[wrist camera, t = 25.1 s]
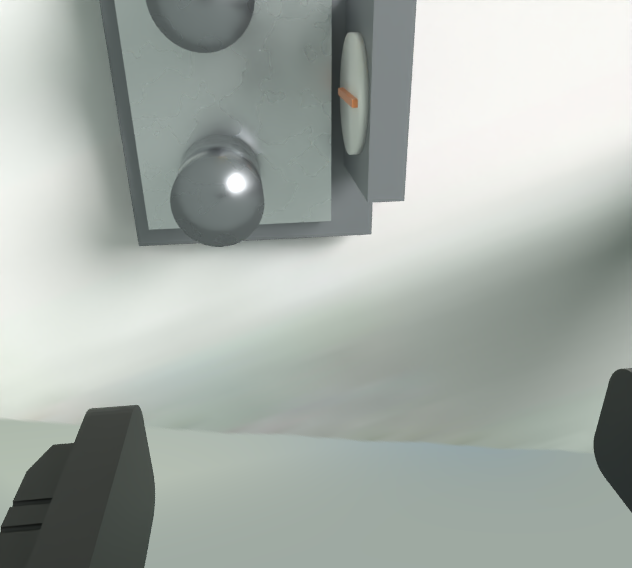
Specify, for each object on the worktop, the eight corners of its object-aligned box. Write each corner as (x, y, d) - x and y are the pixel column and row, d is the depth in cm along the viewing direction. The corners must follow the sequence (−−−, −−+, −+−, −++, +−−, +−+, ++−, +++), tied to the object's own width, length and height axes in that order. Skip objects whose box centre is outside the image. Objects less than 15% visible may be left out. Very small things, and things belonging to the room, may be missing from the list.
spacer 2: (257, 132, 35) (261, 154, 29) (262, 209, 37) (267, 243, 32) (175, 136, 34) (163, 159, 29) (185, 214, 36) (176, 249, 31)
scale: (372, -98, 33) (425, -142, 24) (363, 220, 42) (398, 284, 32) (95, -101, 32) (28, -148, 22) (146, 230, 41) (114, 300, 31)
